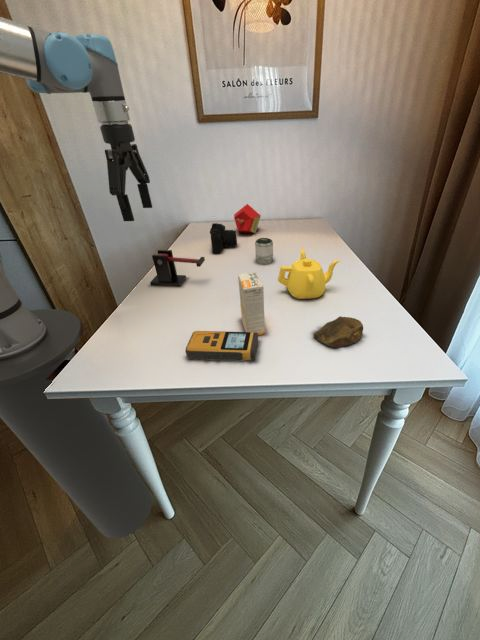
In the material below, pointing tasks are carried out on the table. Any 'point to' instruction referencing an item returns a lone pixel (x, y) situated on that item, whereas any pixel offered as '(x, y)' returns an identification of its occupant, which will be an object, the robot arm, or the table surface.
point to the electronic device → (222, 345)
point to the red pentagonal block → (247, 219)
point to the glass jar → (264, 250)
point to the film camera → (221, 238)
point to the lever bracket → (166, 271)
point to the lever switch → (185, 260)
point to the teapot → (306, 277)
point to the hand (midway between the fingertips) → (139, 214)
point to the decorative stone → (340, 332)
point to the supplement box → (252, 302)
